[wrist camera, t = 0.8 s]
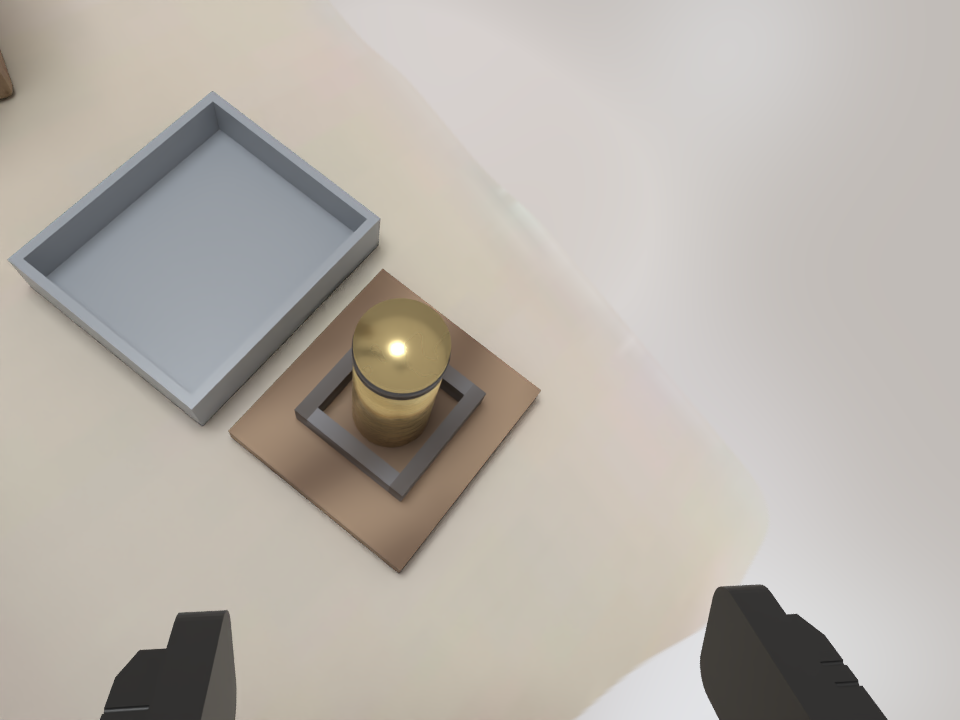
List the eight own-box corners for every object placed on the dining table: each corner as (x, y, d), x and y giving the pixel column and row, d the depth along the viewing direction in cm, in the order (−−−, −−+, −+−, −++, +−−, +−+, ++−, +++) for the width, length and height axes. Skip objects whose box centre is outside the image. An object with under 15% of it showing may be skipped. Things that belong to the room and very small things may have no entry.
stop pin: (334, 414, 41) (330, 348, 32) (385, 357, 42) (395, 278, 33) (396, 464, 40) (410, 410, 31) (446, 405, 42) (472, 338, 33)
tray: (30, 285, 42) (7, 259, 39) (220, 124, 47) (212, 90, 44) (202, 426, 41) (191, 409, 38) (378, 245, 46) (380, 218, 43)
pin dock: (231, 437, 41) (223, 422, 38) (381, 278, 45) (383, 256, 43) (398, 573, 40) (402, 567, 37) (536, 397, 44) (547, 381, 42)
